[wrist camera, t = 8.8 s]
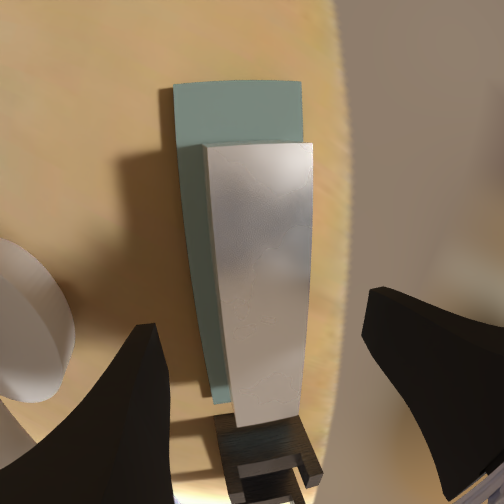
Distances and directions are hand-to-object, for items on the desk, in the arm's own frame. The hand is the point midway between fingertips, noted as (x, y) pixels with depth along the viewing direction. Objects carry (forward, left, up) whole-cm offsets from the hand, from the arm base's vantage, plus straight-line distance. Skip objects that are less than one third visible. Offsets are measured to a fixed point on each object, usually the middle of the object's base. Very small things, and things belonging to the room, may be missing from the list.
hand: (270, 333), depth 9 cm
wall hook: (-1, +12, -5) cm, 13 cm away
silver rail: (0, 0, -4) cm, 4 cm away
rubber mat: (0, 0, -4) cm, 4 cm away
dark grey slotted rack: (-15, 0, -4) cm, 16 cm away
